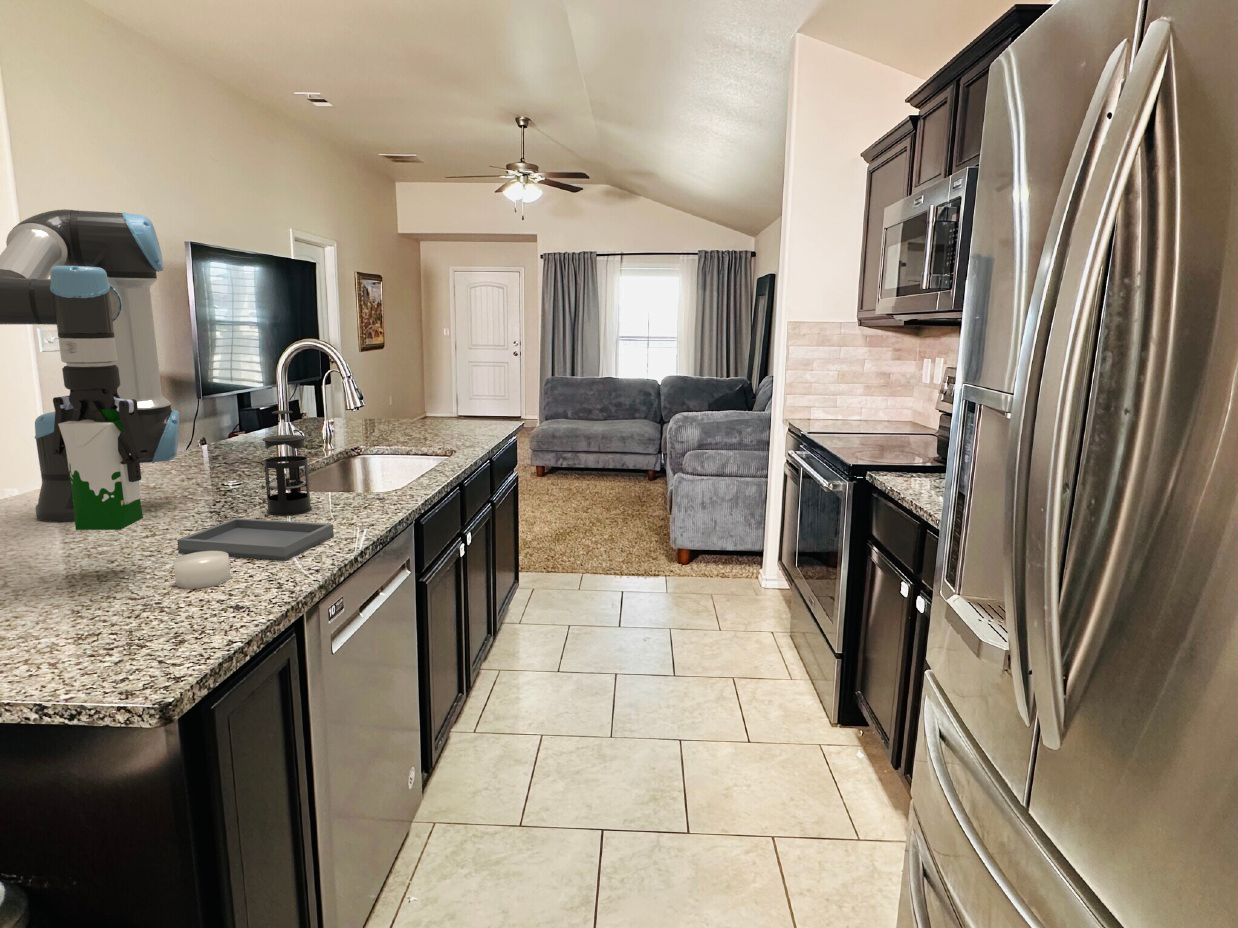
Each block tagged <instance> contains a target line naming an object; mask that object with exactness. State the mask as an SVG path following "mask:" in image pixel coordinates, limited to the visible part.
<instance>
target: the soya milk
mask: <svg viewBox="0 0 1238 928" xmlns="http://www.w3.org/2000/svg"><path fill="white" fill-rule="evenodd" d="M101 411H102V412H103V414H104V415H105V416H106V418H107V419H108V420H109V422H99V421H98V419H97V418H96V420H97V421H96V420H94V421H93V420H88V419H86V420H81V421H68V422H63V423H59V424H58V425H59V428H60V431H61V434H62V437H63V440H64V443H65V447H66V453H67V460H68V468H69V475H70V482H71V490H72V497H73V507H74V517H75V521H74V526H75V528H74V529H75V530H76V531H122V530H123V529H125V528H127V527H129V526H131V525H132V524H135V523H136V522H139V521H140V520H143V519H144V514H143V509H142V503H141V502H142V501H141V498H140V499H137V500H134V501H131V502H124V498H123V490H122V482H121V473H120V465H119V464H120V462H122V461H123V459H122V457H121V455H120V454H119V452H118V437H119V435H120V433H121V432H122V433H123V431H124V429H123V426H122V423H121V420H120V416H119V411H117V409H109V410H108V409H101ZM129 455H131V454H130V453H129Z"/></svg>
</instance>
